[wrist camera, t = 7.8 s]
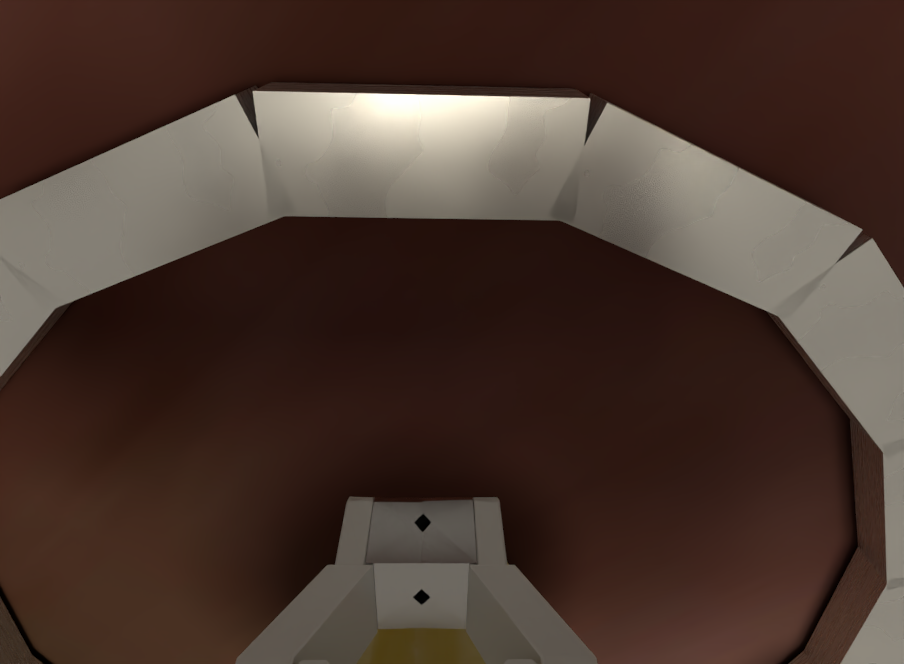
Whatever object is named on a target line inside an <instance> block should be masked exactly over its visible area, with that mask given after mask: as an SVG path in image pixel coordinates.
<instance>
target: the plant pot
mask: <svg viewBox="0 0 904 664" xmlns="http://www.w3.org/2000/svg"><path fill="white" fill-rule="evenodd" d="M507 565H509V564H508V562H507ZM356 664H486V663H485V662H484V660H483V658H482V657H481V655H480V653H479V652H478V650H477V649H476V647H475V645H474V644H473V642H472V640H471V639H470V637H469V636H468V634H467V632H466V629H442V628H405V629H377V634H376V635H375V637H374V638H373V640H372V641H371V643H370V644H369V646H368V647H367V649H366V650H365V652H364V653H363V655H362V656H361V657H360V659H359V660H358V662H357V663H356Z"/></svg>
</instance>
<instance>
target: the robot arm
mask: <svg viewBox="0 0 904 664" xmlns="http://www.w3.org/2000/svg"><path fill="white" fill-rule="evenodd" d="M405 628H442V629H466V632H467V634H468V636H469V637H470V639H471V640H472V642H473V644H474V645H475V647H476V649H477V650H478V652H479V653H480V655H481V657H482V658H483V660H484V662H485V663H486V664H598V663H597V659H596V657H595V655H594V654H593V653H592V652H591V651H590V650H589V649H588V648H587V646H586V645H585V644H584V643H583V642H582V641H581V640H580V638H579V637H578V636H577V635H576V634H575V633H574V632H573V630H572V629H571V628H570V627H569V626H568V625H567V624H566V623H565V621H564V620H563V619H562V618H561V617H560V616H559V615H558V613H557V612H556V611H555V610H554V609H553V608H552V607H551V605H550V604H549V603H548V602H547V601H546V600H545V599H544V597H543V596H542V595H541V594H540V593H539V592H538V591H537V590H536V588H535V587H534V586H533V585H532V584H531V583H530V582H529V580H528V579H527V578H526V577H525V576H524V575H523V574H522V572H521V571H520V570H519V569H518V568H517V567H516V566H515V565H507V558H506V550H505V542H504V533H503V525H502V517H501V508H500V501H499V499H498V497H473V499H472V497H447V498H401V497H349V499H348V501H347V503H346V508H345V513H344V518H343V524H342V529H341V534H340V540H339V545H338V550H337V556H336V561H335V565H327V566H326V567H325V568H324V569H323V570H322V571H321V572H320V573H319V574H318V575H317V576H316V577H315V578H314V579H313V580H312V581H311V582H310V583H309V584H308V585H307V586H306V587H305V588H304V589H303V590H302V591H301V592H300V593H299V595H298V596H297V597H296V598H295V599H294V600H293V601H292V602H291V603H290V604H289V605H288V606H287V607H286V608H285V609H284V610H283V611H282V612H281V613H280V614H279V615H278V616H277V617H276V618H275V619H274V620H273V621H272V622H271V623H270V625H269V626H268V627H267V628H266V629H265V630H264V631H263V632H262V633H261V634H260V635H259V636H258V637H257V638H256V639H255V640H254V641H253V642H252V643H251V644H250V645H249V646H248V647H247V648H246V649H245V650H244V651H243V652H242V653H241V655H240V656H239V657H238V658H237V660H236V663H235V664H356V663H357V662H358V660H359V659H360V657H361V656H362V655H363V653H364V652H365V650H366V649H367V647H368V646H369V644H370V643H371V641H372V640H373V638H374V637H375V635H376V634H377V629H405Z"/></svg>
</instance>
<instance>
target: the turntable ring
mask: <svg viewBox="0 0 904 664" xmlns="http://www.w3.org/2000/svg"><path fill="white" fill-rule="evenodd" d="M284 216H307V217H370V218H433V219H496V220H559V221H562V222H564V223H567V224H569V225H571V226H574V227H576V228H578V229H580V230H583V231H585V232H587V233H589V234H592V235H594V236H596V237H599V238H601V239H603V240H605V241H608V242H610V243H612V244H615V245H617V246H619V247H621V248H624V249H626V250H628V251H631V252H633V253H635V254H637V255H640V256H642V257H644V258H646V259H649V260H651V261H653V262H656V263H658V264H660V265H662V266H665V267H667V268H669V269H672V270H674V271H676V272H678V273H681V274H683V275H685V276H688V277H690V278H692V279H694V280H697V281H699V282H701V283H704V284H706V285H708V286H710V287H713V288H715V289H717V290H719V291H722V292H724V293H726V294H729V295H731V296H733V297H735V298H738V299H740V300H742V301H745V302H747V303H749V304H751V305H754V306H756V307H758V308H761V309H763V310H765V311H766V312H767V313H768V314H769V316H770V317H771V318H772V319H773V321H774V322H775V323H776V325H777V326H778V327H779V328H780V330H781V331H782V332H783V334H784V335H785V336H786V337H787V339H788V340H789V341H790V343H791V344H792V345H793V346H794V348H795V349H796V350H797V352H798V353H799V354H800V356H801V357H802V358H803V359H804V361H805V362H806V363H807V365H808V366H809V367H810V368H811V370H812V371H813V372H814V374H815V375H816V376H817V377H818V379H819V380H820V381H821V383H822V384H823V385H824V386H825V388H826V389H827V390H828V392H829V393H830V394H831V395H832V397H833V398H834V399H835V401H836V402H837V403H838V404H839V406H840V407H841V408H842V410H843V411H844V412H845V413H846V415H847V416H848V417H849V419H850V428H851V444H852V460H853V476H854V492H855V508H856V523H857V539H858V548H857V550H856V552H855V554H854V556H853V557H852V559H851V561H850V563H849V565H848V567H847V569H846V571H845V573H844V575H843V577H842V578H841V580H840V582H839V584H838V586H837V588H836V590H835V592H834V594H833V596H832V598H831V599H830V601H829V603H828V605H827V607H826V609H825V611H824V613H823V615H822V617H821V619H820V620H819V622H818V624H817V626H816V628H815V630H814V632H813V634H812V636H811V638H810V640H809V641H808V643H807V645H806V647H805V649H804V651H803V652H802V653H800V654H799V655H798V656H797V657H796V658H795V659H793V660H792V661H791V662H790V663H789V664H904V288H903V286H902V284H901V283H900V281H899V280H898V278H897V276H896V275H895V273H894V272H893V270H892V268H891V267H890V265H889V264H888V262H887V260H886V259H885V257H884V256H883V254H882V252H881V251H880V249H879V248H878V246H877V244H876V243H875V241H874V240H873V238H871V237H870V236H868V235H866V234H864V233H862V232H861V231H862V230H863V229H861V228H859V227H857V226H855V225H853V224H851V223H850V222H848V221H846V220H844V219H842V218H840V217H838V216H836V215H835V214H833V213H831V212H829V211H827V210H825V209H823V208H821V207H819V206H817V205H815V204H813V203H811V202H809V201H807V200H805V199H803V198H801V197H799V196H797V195H795V194H793V193H791V192H789V191H787V190H785V189H783V188H781V187H779V186H777V185H775V184H773V183H771V182H769V181H767V180H765V179H763V178H761V177H759V176H757V175H755V174H753V173H751V172H749V171H747V170H745V169H743V168H741V167H739V166H737V165H735V164H733V163H731V162H729V161H727V160H725V159H723V158H721V157H719V156H717V155H715V154H713V153H711V152H709V151H707V150H705V149H703V148H701V147H699V146H697V145H695V144H693V143H691V142H689V141H687V140H685V139H683V138H681V137H679V136H677V135H675V134H673V133H671V132H669V131H667V130H665V129H663V128H661V127H659V126H657V125H655V124H653V123H651V122H649V121H647V120H645V119H643V118H641V117H639V116H637V115H634V114H632V113H630V112H628V111H626V110H624V109H622V108H620V107H618V106H616V105H614V104H612V103H610V102H608V101H606V100H604V99H602V98H600V97H598V96H596V95H594V94H592V93H590V94H589V96H586V95H584V94H583V93H581V92H580V91H578V90H576V89H567V88H522V87H477V86H432V85H387V84H342V83H296V82H271V83H269V84H266V85H264V86H262V87H260V88H257V86H256V85H255V86H253V87H251V88H249V89H246V90H244V91H242V92H240V93H237V94H235V95H233V96H231V97H228V98H226V99H224V100H222V101H219V102H217V103H215V104H213V105H210V106H208V107H206V108H204V109H201V110H199V111H197V112H195V113H193V114H190V115H188V116H186V117H184V118H181V119H179V120H177V121H175V122H172V123H170V124H168V125H166V126H163V127H161V128H159V129H157V130H154V131H152V132H150V133H148V134H146V135H143V136H141V137H139V138H137V139H134V140H132V141H130V142H128V143H125V144H123V145H121V146H119V147H116V148H114V149H112V150H110V151H107V152H105V153H103V154H101V155H99V156H96V157H94V158H92V159H90V160H87V161H85V162H83V163H81V164H78V165H76V166H74V167H72V168H69V169H67V170H65V171H63V172H60V173H58V174H56V175H54V176H52V177H49V178H47V179H45V180H43V181H40V182H38V183H36V184H34V185H31V186H29V187H27V188H25V189H22V190H20V191H18V192H16V193H13V194H11V195H9V196H7V197H4V198H2V199H0V390H1V389H2V388H3V387H4V385H5V384H6V383H7V382H8V380H9V379H10V378H11V377H12V376H13V374H14V373H15V372H16V371H17V369H18V368H19V367H20V366H21V365H22V363H23V362H24V361H25V360H26V358H27V357H28V356H29V355H30V354H31V352H32V351H33V350H34V349H35V347H36V346H37V345H38V344H39V343H40V341H41V340H42V339H43V338H44V336H45V335H46V334H47V333H48V331H49V330H50V329H51V328H52V327H53V325H54V324H55V323H56V322H57V320H58V319H59V318H60V317H61V316H62V314H63V313H64V312H65V311H66V309H67V308H68V307H69V306H70V305H71V303H72V302H73V301H75V300H77V299H79V298H82V297H84V296H87V295H89V294H92V293H94V292H97V291H99V290H102V289H104V288H107V287H109V286H112V285H114V284H117V283H119V282H122V281H124V280H127V279H129V278H132V277H134V276H137V275H139V274H142V273H144V272H147V271H149V270H152V269H154V268H157V267H159V266H162V265H164V264H167V263H169V262H172V261H174V260H177V259H179V258H182V257H184V256H186V255H189V254H191V253H194V252H196V251H199V250H201V249H204V248H206V247H209V246H211V245H214V244H216V243H219V242H221V241H224V240H226V239H229V238H231V237H234V236H236V235H239V234H241V233H244V232H246V231H249V230H251V229H254V228H256V227H259V226H261V225H264V224H266V223H269V222H271V221H274V220H276V219H279V218H281V217H284ZM0 664H43V663H42V662H40V661H39V660H38V659H37V658H35V657H34V656H33V655H32V654H31V652H30V650H29V649H28V647H27V645H26V643H25V641H24V639H23V638H22V636H21V634H20V632H19V630H18V628H17V627H16V625H15V623H14V621H13V619H12V617H11V616H10V614H9V612H8V610H7V608H6V606H5V605H4V603H3V601H2V599H1V597H0Z"/></svg>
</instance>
